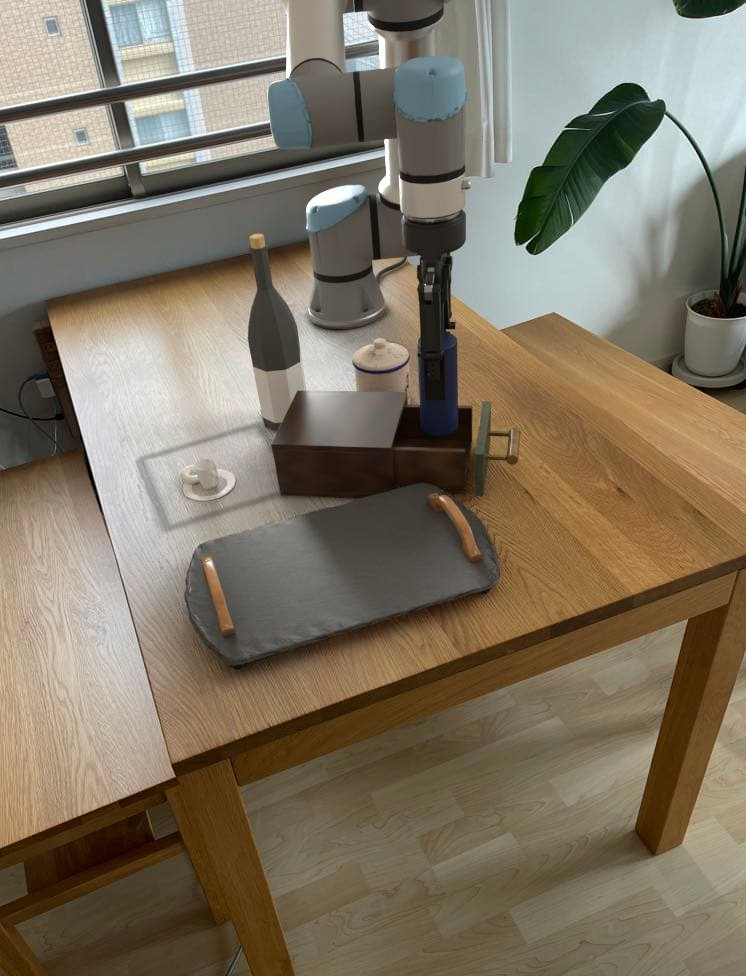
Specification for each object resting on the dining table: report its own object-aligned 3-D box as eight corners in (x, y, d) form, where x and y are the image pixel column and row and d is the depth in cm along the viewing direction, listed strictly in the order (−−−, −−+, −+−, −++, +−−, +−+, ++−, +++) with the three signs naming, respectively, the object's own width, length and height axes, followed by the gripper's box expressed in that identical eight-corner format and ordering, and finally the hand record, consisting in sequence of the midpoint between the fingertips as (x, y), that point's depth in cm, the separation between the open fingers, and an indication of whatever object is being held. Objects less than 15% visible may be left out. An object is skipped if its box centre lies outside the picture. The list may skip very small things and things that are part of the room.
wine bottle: (256, 414, 137) (221, 234, 118) (300, 400, 139) (273, 221, 120) (272, 436, 131) (238, 251, 112) (318, 422, 133) (292, 237, 114)
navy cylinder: (423, 415, 116) (419, 331, 108) (460, 416, 115) (459, 331, 107) (418, 435, 113) (414, 350, 104) (456, 436, 112) (455, 350, 103)
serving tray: (208, 691, 91) (196, 653, 87) (176, 565, 108) (165, 529, 104) (523, 593, 98) (526, 554, 94) (446, 489, 115) (445, 453, 111)
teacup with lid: (418, 413, 131) (415, 347, 124) (363, 424, 131) (357, 358, 123) (399, 379, 141) (395, 316, 133) (348, 389, 140) (341, 326, 133)
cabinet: (410, 442, 125) (407, 392, 120) (394, 500, 114) (390, 448, 109) (304, 439, 129) (297, 390, 123) (280, 495, 118) (270, 444, 113)
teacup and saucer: (177, 478, 125) (170, 456, 122) (226, 463, 127) (221, 441, 124) (190, 509, 118) (184, 487, 116) (242, 493, 120) (237, 470, 118)
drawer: (520, 442, 121) (522, 401, 116) (516, 497, 110) (517, 455, 106) (387, 438, 125) (384, 399, 121) (371, 491, 115) (367, 450, 111)
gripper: (457, 240, 88) (459, 424, 103) (472, 185, 101) (472, 355, 116) (388, 242, 89) (400, 423, 104) (412, 187, 103) (419, 354, 118)
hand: (438, 386), depth 110 cm, fingers closed on navy cylinder, 5 cm apart
